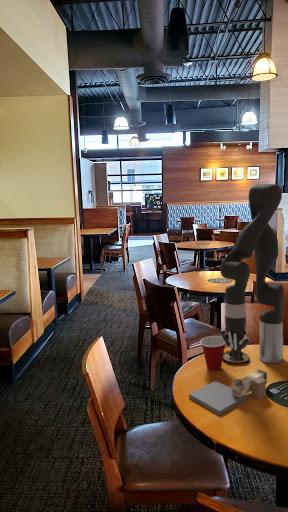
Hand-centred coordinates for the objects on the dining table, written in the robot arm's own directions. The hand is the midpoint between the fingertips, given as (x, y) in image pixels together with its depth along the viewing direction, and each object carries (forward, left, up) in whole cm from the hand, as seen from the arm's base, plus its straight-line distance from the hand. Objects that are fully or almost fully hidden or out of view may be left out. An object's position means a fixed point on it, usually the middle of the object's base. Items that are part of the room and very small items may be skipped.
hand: (235, 357), depth 135 cm
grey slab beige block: (+10, +5, -10) cm, 15 cm away
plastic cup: (-3, -14, -10) cm, 17 cm away
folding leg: (+3, +8, -8) cm, 12 cm away
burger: (-16, -13, -10) cm, 23 cm away
